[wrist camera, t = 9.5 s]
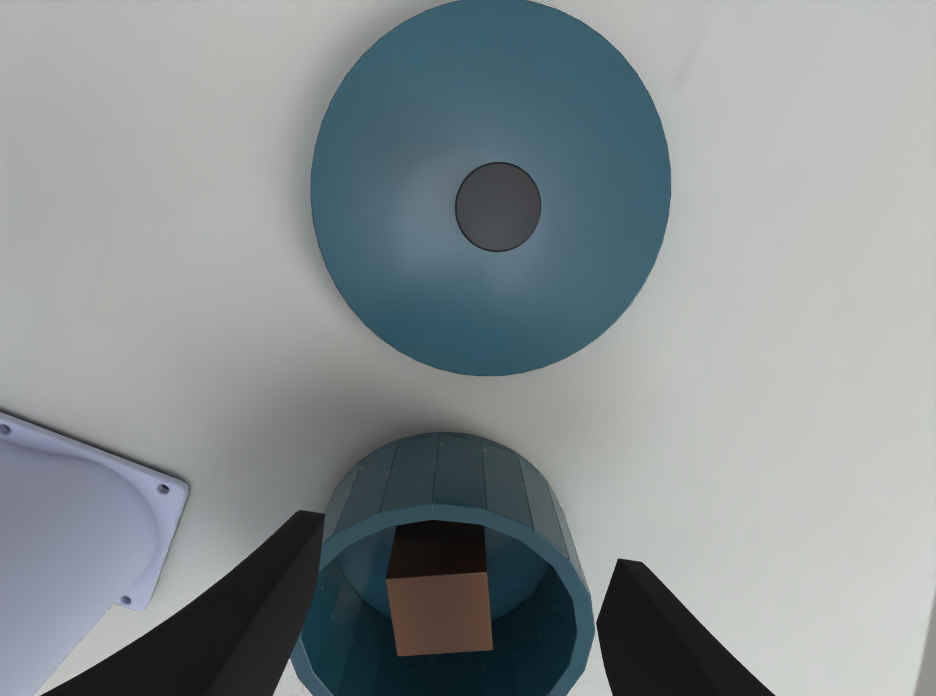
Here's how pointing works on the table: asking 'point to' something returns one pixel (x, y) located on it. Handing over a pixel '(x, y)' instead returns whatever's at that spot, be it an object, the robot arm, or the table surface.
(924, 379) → the table surface
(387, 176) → the lid
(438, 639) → the block
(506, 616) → the pot
